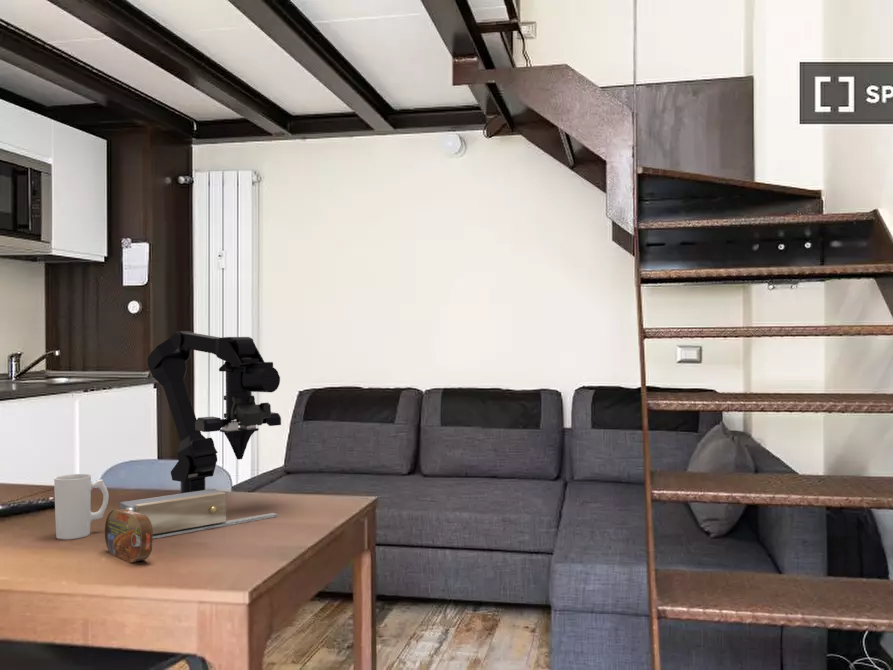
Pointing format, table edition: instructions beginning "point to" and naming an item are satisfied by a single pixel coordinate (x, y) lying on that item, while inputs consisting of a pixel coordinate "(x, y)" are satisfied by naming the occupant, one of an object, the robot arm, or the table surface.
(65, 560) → the table surface
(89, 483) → the mug
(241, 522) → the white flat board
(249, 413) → the robot arm
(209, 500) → the door
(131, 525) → the tin
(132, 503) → the cabinet
